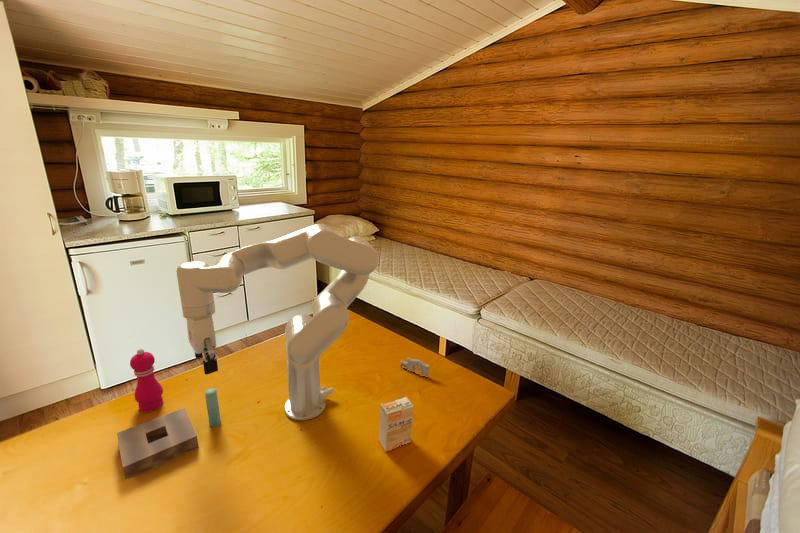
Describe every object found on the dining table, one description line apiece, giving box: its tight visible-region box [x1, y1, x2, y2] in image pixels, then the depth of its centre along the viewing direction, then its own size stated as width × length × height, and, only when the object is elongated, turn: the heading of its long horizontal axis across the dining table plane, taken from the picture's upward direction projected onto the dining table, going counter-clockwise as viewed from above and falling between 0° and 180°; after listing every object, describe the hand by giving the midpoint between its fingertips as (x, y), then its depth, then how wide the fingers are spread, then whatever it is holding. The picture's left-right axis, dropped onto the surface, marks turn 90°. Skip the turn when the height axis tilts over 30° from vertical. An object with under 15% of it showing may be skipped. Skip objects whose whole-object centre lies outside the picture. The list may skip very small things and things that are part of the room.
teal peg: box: [204, 388, 222, 428], centre depth 104 cm, size 3×3×11 cm
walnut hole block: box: [116, 407, 200, 481], centre depth 96 cm, size 16×14×4 cm
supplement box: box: [378, 396, 414, 453], centre depth 100 cm, size 8×5×13 cm, turn 117°
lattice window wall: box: [400, 357, 431, 377], centre depth 134 cm, size 12×2×6 cm, turn 58°
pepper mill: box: [129, 348, 164, 413], centre depth 108 cm, size 7×7×20 cm
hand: (206, 364), depth 99 cm, fingers open, 9 cm apart
